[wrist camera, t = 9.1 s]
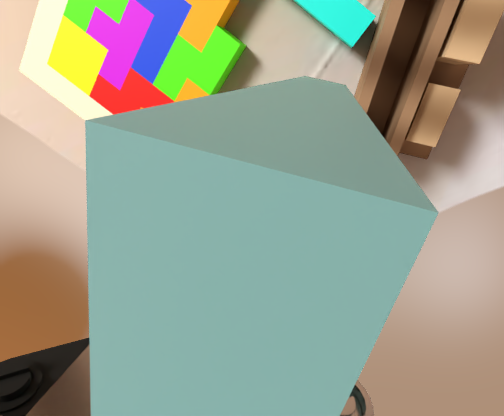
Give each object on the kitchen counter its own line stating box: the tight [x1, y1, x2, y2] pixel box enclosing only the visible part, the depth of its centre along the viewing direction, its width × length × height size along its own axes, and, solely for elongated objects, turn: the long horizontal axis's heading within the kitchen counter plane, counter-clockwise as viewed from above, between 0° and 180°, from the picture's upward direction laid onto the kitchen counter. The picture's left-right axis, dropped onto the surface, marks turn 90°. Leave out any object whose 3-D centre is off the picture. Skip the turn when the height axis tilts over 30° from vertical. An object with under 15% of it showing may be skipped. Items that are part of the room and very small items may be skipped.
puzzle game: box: [19, 0, 376, 120], centre depth 35 cm, size 30×3×30 cm
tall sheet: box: [85, 76, 438, 416], centre depth 12 cm, size 12×2×16 cm, turn 168°
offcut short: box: [405, 83, 461, 147], centre depth 31 cm, size 5×3×4 cm, turn 168°
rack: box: [354, 0, 469, 159], centre depth 30 cm, size 16×9×6 cm, turn 168°
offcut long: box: [436, 0, 504, 65], centre depth 27 cm, size 6×3×6 cm, turn 168°
